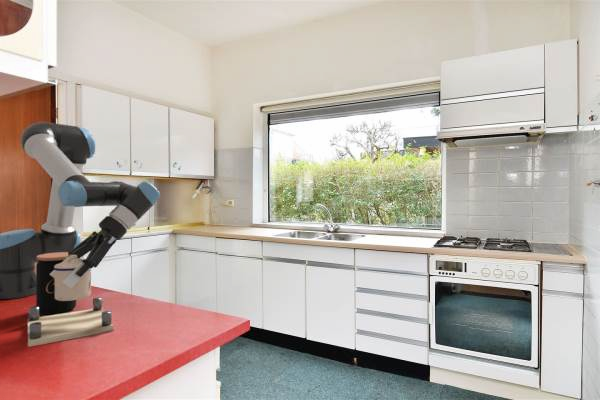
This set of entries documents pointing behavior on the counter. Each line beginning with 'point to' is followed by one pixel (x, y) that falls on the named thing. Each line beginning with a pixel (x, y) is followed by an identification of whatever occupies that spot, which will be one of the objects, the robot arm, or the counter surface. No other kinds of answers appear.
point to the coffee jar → (50, 285)
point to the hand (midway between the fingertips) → (59, 281)
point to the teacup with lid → (80, 288)
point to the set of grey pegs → (36, 327)
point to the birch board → (69, 326)
